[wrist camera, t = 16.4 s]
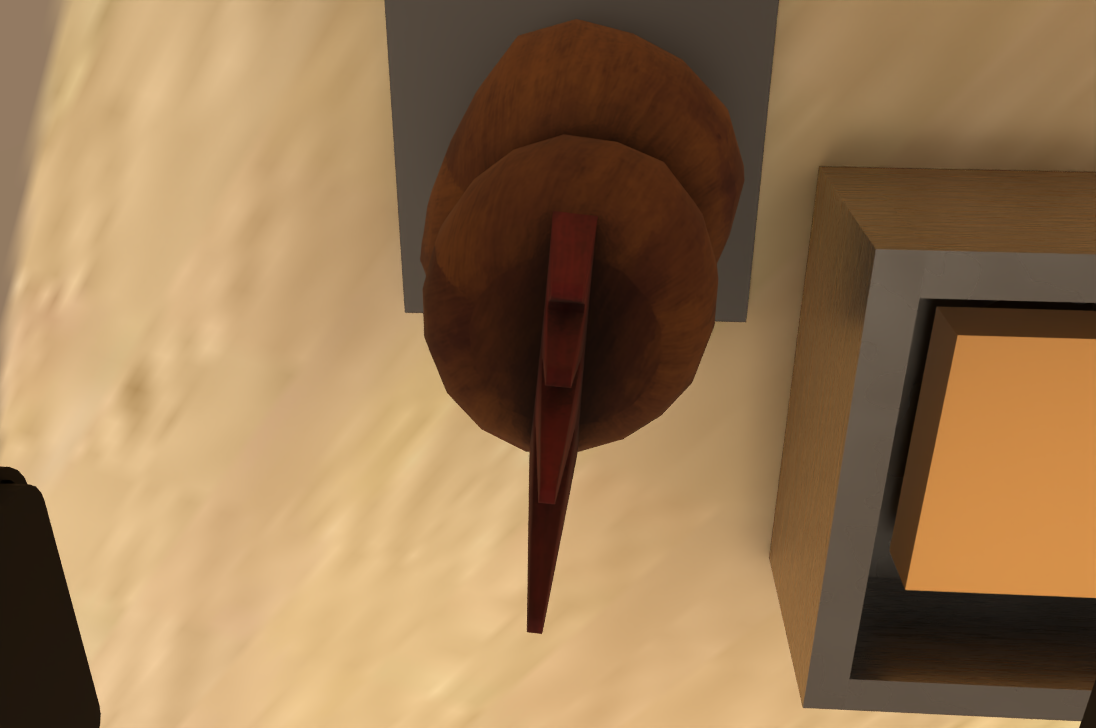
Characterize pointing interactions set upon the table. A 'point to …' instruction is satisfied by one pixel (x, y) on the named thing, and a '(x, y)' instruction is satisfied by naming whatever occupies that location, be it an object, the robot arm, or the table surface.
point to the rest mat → (535, 3)
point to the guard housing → (885, 433)
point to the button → (1003, 457)
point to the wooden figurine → (576, 253)
